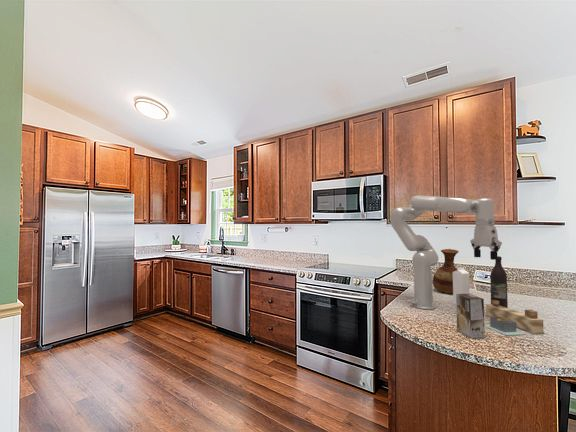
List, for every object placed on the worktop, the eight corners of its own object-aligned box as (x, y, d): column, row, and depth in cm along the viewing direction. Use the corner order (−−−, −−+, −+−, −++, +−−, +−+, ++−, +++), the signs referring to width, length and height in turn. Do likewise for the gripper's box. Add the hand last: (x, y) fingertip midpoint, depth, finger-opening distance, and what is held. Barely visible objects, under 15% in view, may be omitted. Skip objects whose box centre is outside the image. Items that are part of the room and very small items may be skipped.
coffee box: (485, 338, 116) (485, 298, 116) (471, 338, 115) (470, 299, 116) (469, 329, 125) (468, 293, 125) (455, 330, 124) (455, 293, 125)
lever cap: (501, 325, 128) (501, 316, 129) (516, 331, 121) (516, 321, 122) (490, 326, 128) (490, 316, 128) (504, 332, 121) (503, 321, 121)
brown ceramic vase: (434, 293, 190) (433, 249, 191) (431, 287, 208) (430, 247, 209) (468, 296, 182) (467, 250, 183) (462, 290, 201) (461, 248, 202)
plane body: (544, 333, 120) (543, 312, 121) (533, 334, 120) (532, 313, 120) (495, 315, 144) (495, 298, 144) (486, 316, 143) (485, 298, 144)
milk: (469, 305, 162) (469, 267, 163) (462, 307, 160) (462, 268, 160) (459, 303, 168) (459, 266, 168) (452, 304, 165) (452, 266, 166)
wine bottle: (487, 312, 150) (486, 256, 151) (496, 310, 152) (495, 255, 153) (502, 316, 143) (501, 257, 144) (510, 314, 146) (509, 256, 147)
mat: (506, 335, 118) (506, 334, 118) (483, 325, 130) (483, 324, 130) (525, 334, 119) (525, 333, 119) (500, 324, 131) (500, 323, 131)
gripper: (507, 223, 130) (508, 260, 130) (477, 223, 147) (478, 256, 147) (493, 223, 129) (493, 260, 129) (464, 223, 146) (465, 256, 146)
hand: (485, 258), depth 138 cm, fingers open, 9 cm apart
